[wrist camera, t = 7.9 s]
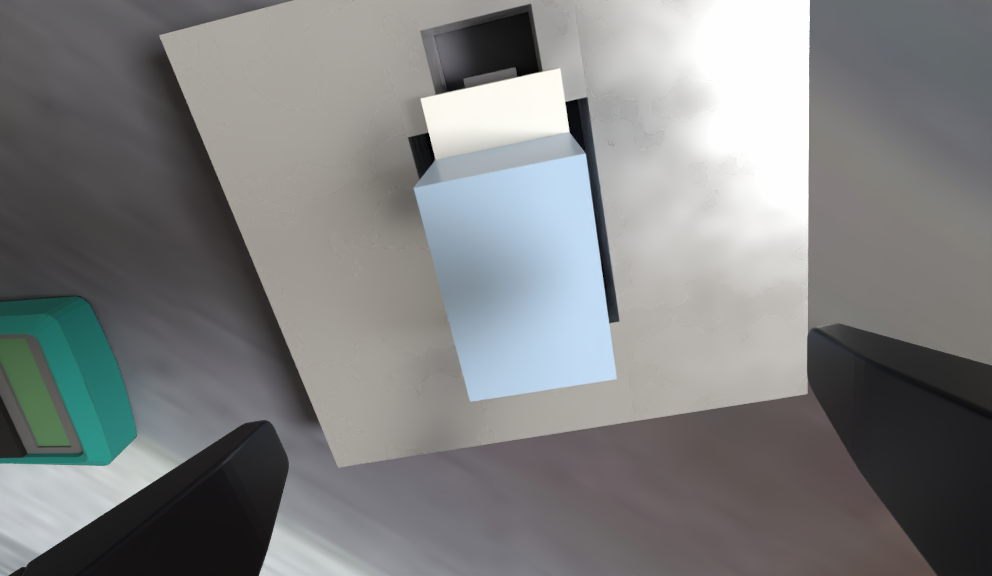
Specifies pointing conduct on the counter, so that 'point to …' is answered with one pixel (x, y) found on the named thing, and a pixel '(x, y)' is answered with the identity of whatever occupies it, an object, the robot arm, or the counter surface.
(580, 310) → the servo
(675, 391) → the white flat slab
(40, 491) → the counter surface
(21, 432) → the digital multimeter
